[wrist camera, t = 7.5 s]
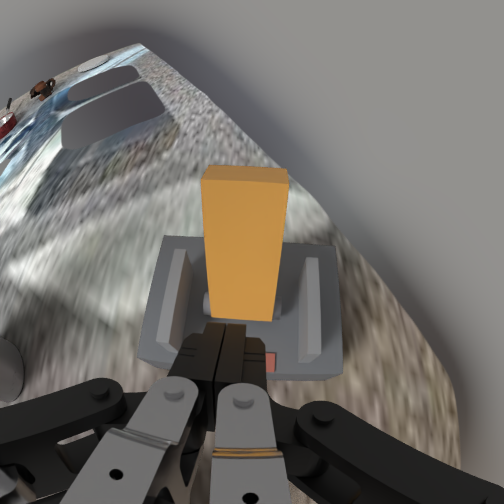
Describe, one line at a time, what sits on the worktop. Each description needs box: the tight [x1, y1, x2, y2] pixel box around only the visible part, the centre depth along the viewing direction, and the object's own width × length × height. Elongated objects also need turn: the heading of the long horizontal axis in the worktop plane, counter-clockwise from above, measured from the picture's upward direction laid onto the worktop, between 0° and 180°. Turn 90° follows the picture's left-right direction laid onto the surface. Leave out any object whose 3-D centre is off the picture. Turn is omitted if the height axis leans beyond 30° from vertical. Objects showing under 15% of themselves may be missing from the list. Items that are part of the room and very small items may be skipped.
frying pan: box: [0, 98, 17, 139], centre depth 61 cm, size 32×13×6 cm, turn 37°
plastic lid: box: [78, 55, 108, 72], centre depth 81 cm, size 14×14×2 cm
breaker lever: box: [201, 165, 289, 322], centre depth 20 cm, size 6×2×13 cm, turn 86°
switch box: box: [137, 235, 343, 381], centre depth 26 cm, size 18×13×10 cm
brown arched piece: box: [30, 78, 55, 101], centre depth 69 cm, size 12×10×8 cm
